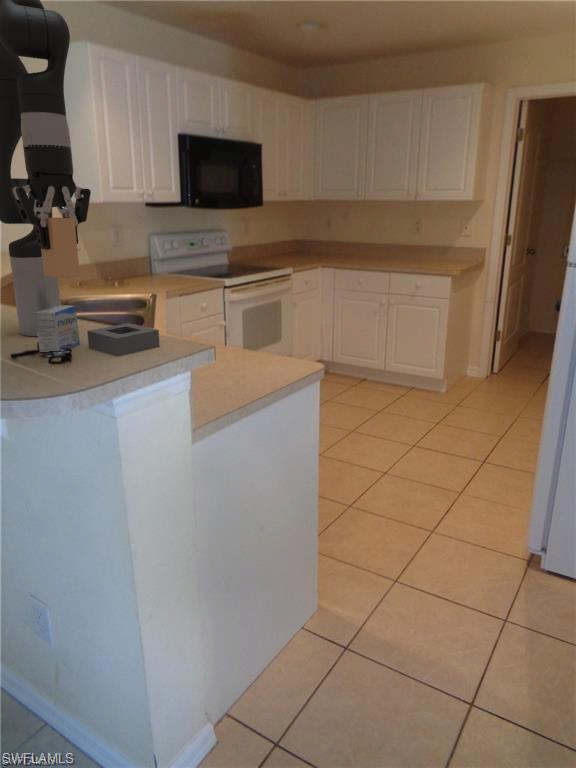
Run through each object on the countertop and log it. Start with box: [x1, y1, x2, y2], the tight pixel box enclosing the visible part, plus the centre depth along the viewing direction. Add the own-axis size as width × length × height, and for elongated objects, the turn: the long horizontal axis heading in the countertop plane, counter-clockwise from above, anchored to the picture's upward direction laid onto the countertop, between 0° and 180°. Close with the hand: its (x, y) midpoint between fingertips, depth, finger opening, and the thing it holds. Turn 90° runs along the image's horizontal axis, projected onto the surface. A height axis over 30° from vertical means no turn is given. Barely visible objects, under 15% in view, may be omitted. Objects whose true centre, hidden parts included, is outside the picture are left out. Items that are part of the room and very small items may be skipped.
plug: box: [41, 217, 81, 279], centre depth 100 cm, size 4×4×10 cm
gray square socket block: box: [86, 322, 160, 357], centre depth 115 cm, size 10×10×4 cm
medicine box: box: [34, 304, 81, 353], centre depth 113 cm, size 8×4×9 cm, turn 170°
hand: (58, 247), depth 100 cm, fingers closed on plug, 4 cm apart
